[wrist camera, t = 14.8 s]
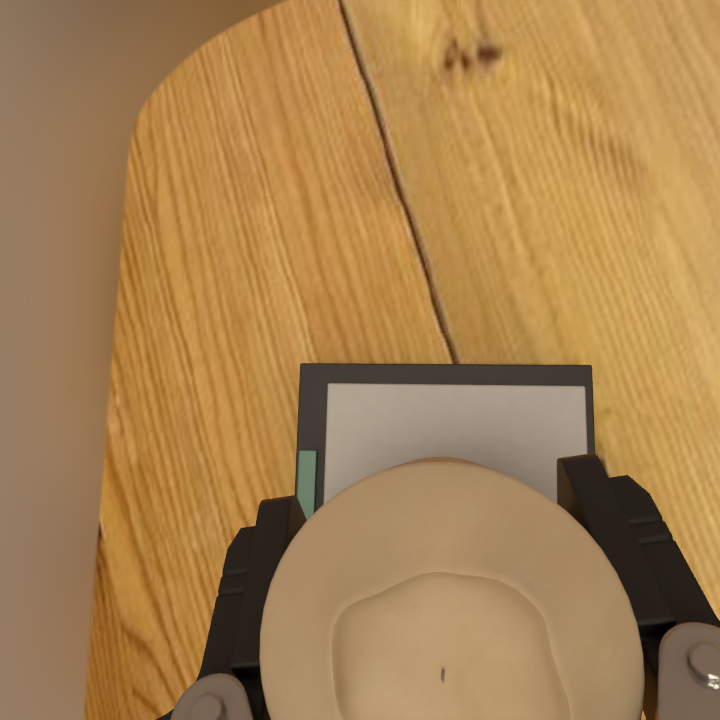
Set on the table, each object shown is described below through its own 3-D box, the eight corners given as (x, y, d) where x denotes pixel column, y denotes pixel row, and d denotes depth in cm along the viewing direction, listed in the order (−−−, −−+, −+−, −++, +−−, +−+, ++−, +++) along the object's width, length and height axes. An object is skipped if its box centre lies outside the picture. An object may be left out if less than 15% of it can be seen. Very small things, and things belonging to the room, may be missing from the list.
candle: (312, 556, 17) (135, 699, 7) (431, 418, 17) (417, 375, 7) (453, 695, 16) (473, 1092, 6) (580, 546, 16) (799, 697, 6)
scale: (300, 642, 27) (282, 668, 24) (311, 370, 29) (295, 360, 26) (588, 664, 25) (609, 695, 22) (578, 372, 27) (597, 362, 24)
